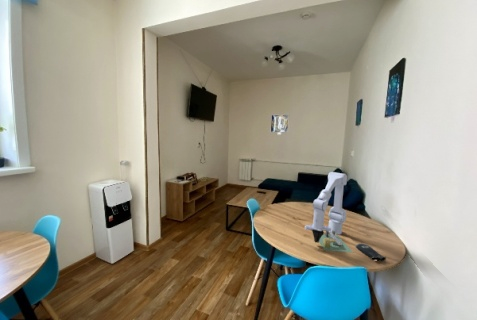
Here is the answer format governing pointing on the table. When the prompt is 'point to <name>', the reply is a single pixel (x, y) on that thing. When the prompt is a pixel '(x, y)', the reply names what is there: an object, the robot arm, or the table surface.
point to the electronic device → (369, 252)
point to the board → (334, 247)
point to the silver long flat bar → (335, 238)
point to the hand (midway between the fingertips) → (316, 241)
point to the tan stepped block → (327, 242)
